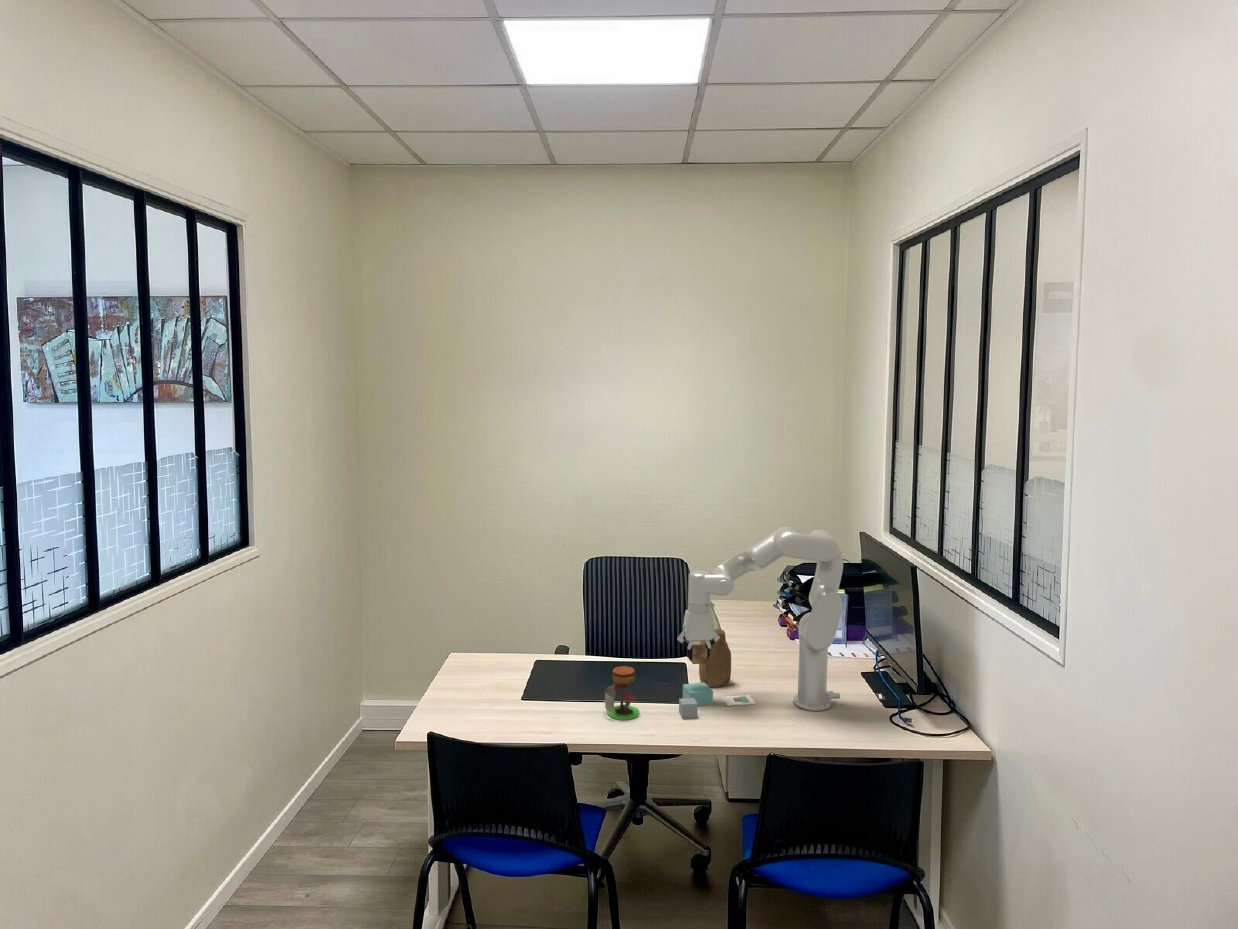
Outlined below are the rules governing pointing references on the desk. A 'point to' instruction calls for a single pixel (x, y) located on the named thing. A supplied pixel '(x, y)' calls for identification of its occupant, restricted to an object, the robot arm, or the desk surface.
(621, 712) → the green-based stack
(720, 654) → the brown piece
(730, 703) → the card
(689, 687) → the teal base block
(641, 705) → the desk surface
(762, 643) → the desk surface
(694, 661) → the walnut cube
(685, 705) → the slate grey cube
